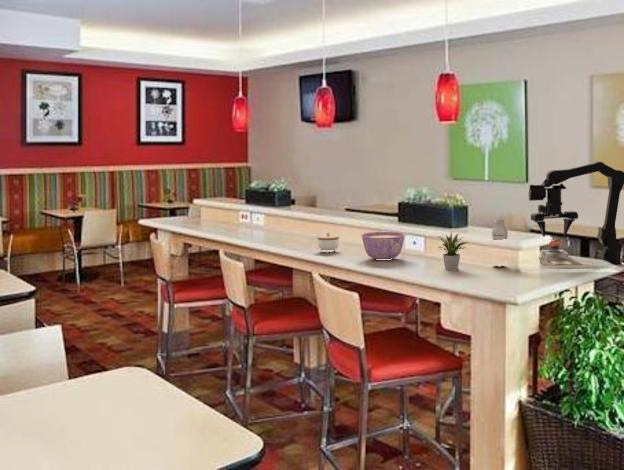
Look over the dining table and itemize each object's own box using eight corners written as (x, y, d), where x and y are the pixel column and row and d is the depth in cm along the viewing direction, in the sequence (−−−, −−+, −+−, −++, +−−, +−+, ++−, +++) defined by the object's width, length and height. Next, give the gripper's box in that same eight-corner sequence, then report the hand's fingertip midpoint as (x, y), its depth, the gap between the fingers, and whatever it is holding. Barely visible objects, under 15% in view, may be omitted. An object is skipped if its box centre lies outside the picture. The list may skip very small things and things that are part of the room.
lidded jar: (329, 249, 356) (328, 231, 355) (343, 251, 348) (343, 233, 347) (313, 252, 349) (312, 233, 348) (327, 254, 341) (327, 235, 340)
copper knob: (559, 258, 304) (559, 238, 302) (563, 260, 298) (563, 240, 297) (546, 258, 304) (546, 238, 303) (549, 260, 298) (550, 240, 297)
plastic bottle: (495, 265, 300) (495, 219, 298) (509, 266, 296) (510, 219, 293) (488, 267, 296) (488, 220, 293) (503, 269, 291) (504, 221, 289)
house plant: (441, 273, 285) (441, 234, 283) (426, 268, 298) (426, 230, 296) (472, 271, 289) (472, 232, 287) (457, 265, 302) (457, 228, 300)
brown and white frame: (569, 260, 306) (570, 249, 305) (583, 268, 288) (583, 256, 287) (532, 261, 307) (532, 250, 306) (543, 268, 289) (543, 257, 288)
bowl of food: (404, 263, 311) (404, 237, 310) (359, 263, 314) (359, 237, 313) (405, 255, 331) (405, 231, 329) (363, 255, 334) (363, 231, 332)
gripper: (567, 197, 305) (567, 232, 308) (525, 199, 305) (526, 234, 307) (578, 199, 294) (578, 235, 296) (535, 201, 294) (535, 238, 296)
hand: (554, 236), depth 299 cm, fingers open, 9 cm apart
